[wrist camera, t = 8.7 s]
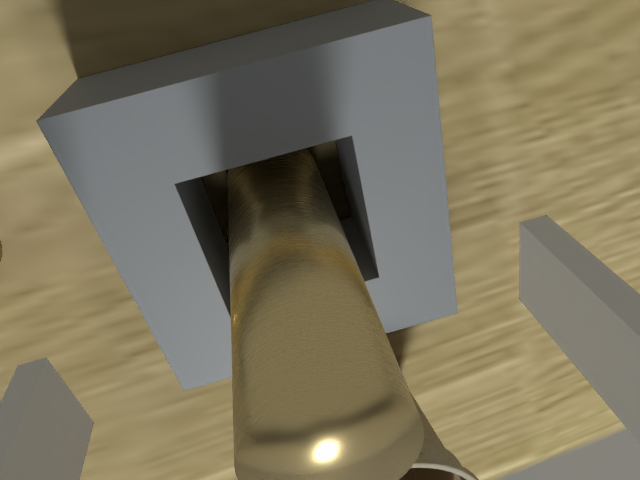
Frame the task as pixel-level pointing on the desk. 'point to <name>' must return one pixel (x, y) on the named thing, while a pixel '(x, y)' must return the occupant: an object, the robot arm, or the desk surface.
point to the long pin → (308, 338)
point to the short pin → (0, 251)
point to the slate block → (258, 144)
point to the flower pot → (435, 459)
